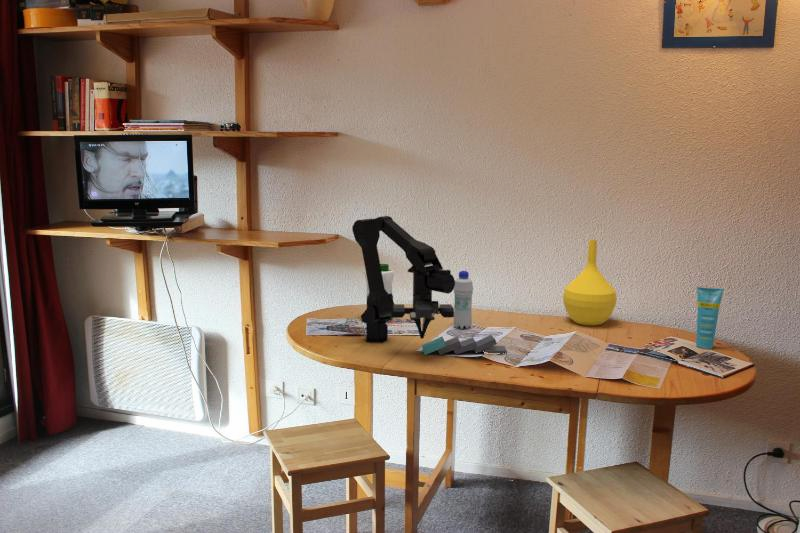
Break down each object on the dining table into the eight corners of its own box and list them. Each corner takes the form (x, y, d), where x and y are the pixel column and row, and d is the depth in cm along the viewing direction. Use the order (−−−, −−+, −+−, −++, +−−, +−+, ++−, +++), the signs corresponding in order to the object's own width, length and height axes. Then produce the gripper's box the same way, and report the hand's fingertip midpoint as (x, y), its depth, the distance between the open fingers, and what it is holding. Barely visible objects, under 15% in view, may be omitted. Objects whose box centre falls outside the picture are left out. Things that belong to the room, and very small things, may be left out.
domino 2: (438, 349, 204) (459, 340, 204) (436, 344, 209) (457, 336, 209) (440, 355, 205) (461, 346, 204) (438, 350, 209) (459, 341, 209)
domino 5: (483, 350, 205) (506, 350, 205) (481, 345, 210) (504, 345, 210) (483, 356, 205) (506, 356, 205) (481, 351, 210) (503, 351, 210)
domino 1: (422, 349, 204) (443, 341, 204) (421, 344, 209) (442, 336, 209) (424, 355, 205) (446, 346, 204) (423, 350, 209) (444, 341, 209)
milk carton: (396, 319, 244) (396, 265, 241) (379, 324, 238) (379, 268, 234) (378, 315, 250) (378, 262, 246) (361, 320, 243) (361, 265, 240)
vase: (625, 324, 240) (631, 241, 235) (591, 332, 230) (596, 245, 224) (585, 313, 255) (589, 234, 249) (551, 320, 245) (555, 238, 239)
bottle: (471, 330, 231) (472, 273, 227) (451, 329, 232) (452, 272, 229) (473, 325, 238) (474, 269, 234) (454, 324, 239) (455, 268, 235)
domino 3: (453, 349, 204) (475, 341, 204) (451, 344, 209) (472, 337, 209) (455, 354, 205) (477, 347, 205) (453, 350, 210) (474, 342, 210)
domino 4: (474, 348, 205) (494, 338, 205) (470, 344, 210) (490, 334, 210) (476, 353, 205) (497, 343, 206) (472, 349, 210) (492, 339, 211)
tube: (692, 347, 213) (698, 288, 209) (691, 343, 217) (696, 285, 214) (718, 350, 211) (724, 289, 207) (716, 345, 215) (722, 286, 212)
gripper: (392, 294, 195) (391, 346, 198) (456, 294, 196) (455, 346, 199) (391, 286, 206) (391, 335, 209) (452, 286, 207) (451, 335, 209)
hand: (421, 338), depth 206 cm, fingers closed
